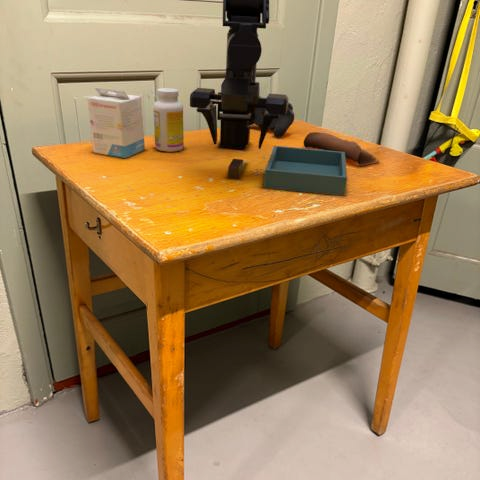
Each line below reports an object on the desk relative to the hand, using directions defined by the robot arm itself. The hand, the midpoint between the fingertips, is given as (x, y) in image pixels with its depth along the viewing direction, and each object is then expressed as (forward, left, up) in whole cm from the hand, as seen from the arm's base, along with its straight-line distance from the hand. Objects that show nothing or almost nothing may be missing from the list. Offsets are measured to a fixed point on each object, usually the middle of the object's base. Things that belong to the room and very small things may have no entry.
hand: (237, 146), depth 106 cm
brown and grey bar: (0, +1, -6) cm, 6 cm away
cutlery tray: (+15, +1, -6) cm, 16 cm away
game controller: (+2, +39, -6) cm, 40 cm away
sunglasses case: (+22, +21, -6) cm, 31 cm away
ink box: (-28, +7, -6) cm, 30 cm away
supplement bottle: (-18, +13, -6) cm, 23 cm away
